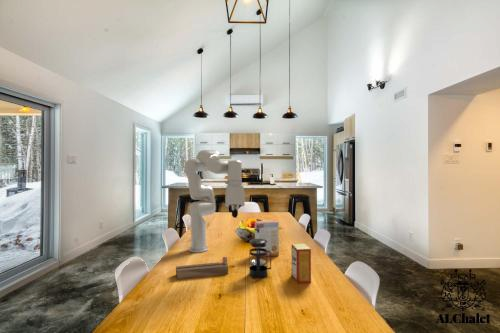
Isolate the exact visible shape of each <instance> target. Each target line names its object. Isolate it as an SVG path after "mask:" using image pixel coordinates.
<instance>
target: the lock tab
mask: <svg viewBox="0 0 500 333" xmlns="http://www.w3.org/2000/svg"><path fill="white" fill-rule="evenodd" d="M223 262H227V263H228V257H227V255H222V261H220V265H223Z"/></svg>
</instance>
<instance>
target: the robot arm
mask: <svg viewBox="0 0 500 333" xmlns="http://www.w3.org/2000/svg"><path fill="white" fill-rule="evenodd" d="M196 157H197V158H189V159H187V160H186V162H185V163H184V171H185V174H186V177H187V182H188V189H189V190H188V191H189V195H190V198H191V199H192V200H194V202H192V203H190V205H189V209H188V210H189V215H190V247H189V248H188V251H189V252H191V253H204V252H206V251H208V250H209V246H208V245H206V244H207V243H206V242H207V238H206V237H207V234H206V233H207V228H206V227H207V226H206V225H207V223H206V219H204V217H203V216H210V215H213V214H215V212H216V201H215V192H214V189H213V187H212V186H211V185H210V184H202V178H201V176H200V175H199V174H198V172H210V173H213V174H214V175H215V174H216V175H222V174H223V175H224V174H225V175H227V180H226V181H224V185H225V184H226V187H225V196H224V202H225V203H224V207H226V208H230V210H231V216H232V218H234V219H235V218H238V215H239V209H240V208H241V207H245V202H246V198H245V188H244V185H242V183H243V181H242V180H243V179H242V177H243V175H242V172H243V170H242V167H243V166H242V161H241V160H238V159H237V160H236V159H235V160H229V159H227V160H226V159H221V156H220V153H219V152H218V151H217V150H213V149H212V150H211V149H203V150H200V151H198V153H197V154H196ZM220 159H221V160H220ZM195 200H200V201H195Z"/></svg>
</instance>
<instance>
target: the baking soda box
mask: <svg viewBox="0 0 500 333" xmlns="http://www.w3.org/2000/svg"><path fill="white" fill-rule="evenodd" d="M311 254H312V249H311V248H310V247H309V246H308V245H307V244H306V243H303V242H302V243H291V276H292V278H293V279H294V281H295V283H296V284H311V283H312V255H311Z"/></svg>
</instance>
